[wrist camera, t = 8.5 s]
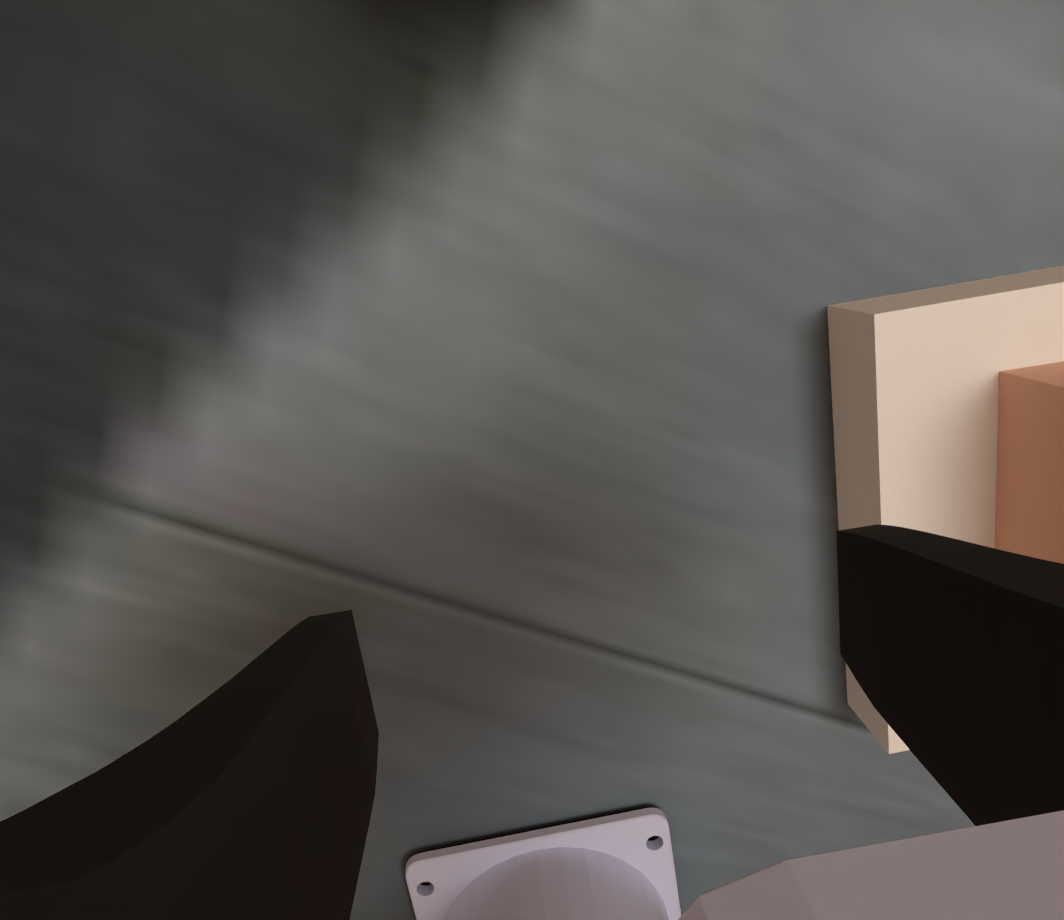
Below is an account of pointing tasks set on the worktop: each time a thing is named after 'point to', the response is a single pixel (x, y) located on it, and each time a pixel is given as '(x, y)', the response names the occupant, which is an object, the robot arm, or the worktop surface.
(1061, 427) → the terracotta brick
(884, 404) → the base block
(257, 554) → the worktop surface
